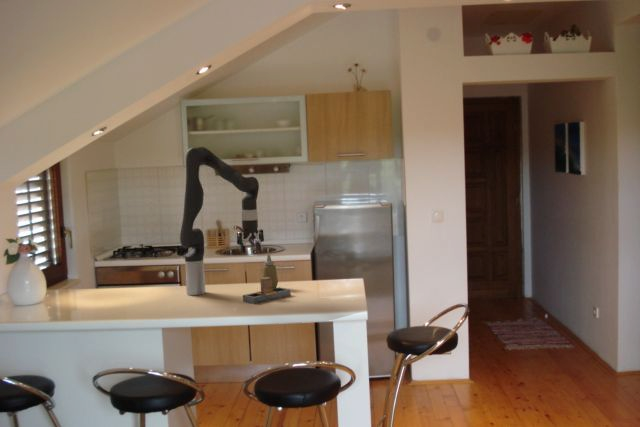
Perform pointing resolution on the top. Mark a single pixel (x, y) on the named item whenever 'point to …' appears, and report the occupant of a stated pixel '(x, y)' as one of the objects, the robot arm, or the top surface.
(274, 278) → the squeeze bottle
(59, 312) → the top surface
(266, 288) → the walnut peg
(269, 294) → the grey compartment tray
